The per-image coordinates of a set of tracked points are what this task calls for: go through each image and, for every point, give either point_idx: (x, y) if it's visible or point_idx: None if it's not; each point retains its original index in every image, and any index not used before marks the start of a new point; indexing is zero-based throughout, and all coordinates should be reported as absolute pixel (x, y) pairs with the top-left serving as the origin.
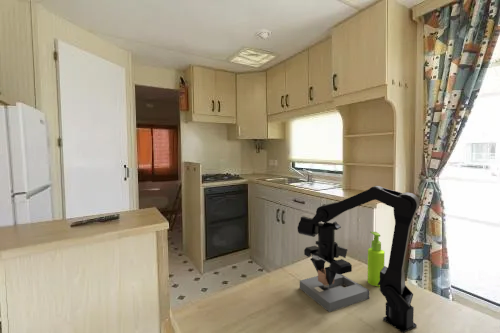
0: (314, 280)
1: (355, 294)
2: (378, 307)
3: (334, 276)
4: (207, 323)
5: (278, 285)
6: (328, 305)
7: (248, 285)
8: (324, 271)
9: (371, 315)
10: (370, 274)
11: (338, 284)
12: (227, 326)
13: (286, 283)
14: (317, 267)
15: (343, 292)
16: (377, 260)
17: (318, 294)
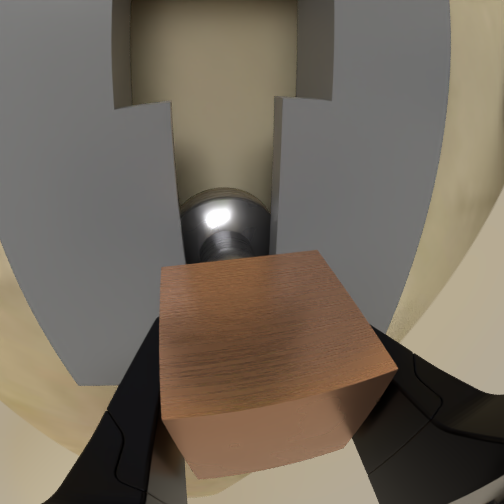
0: (78, 303)
1: (445, 114)
2: (467, 35)
3: (411, 360)
4: (219, 485)
5: (58, 397)
6: None
7: (67, 446)
8: (280, 454)
9: (478, 134)
10: None
11: (126, 12)
12: (243, 475)
13: (35, 368)
14: (184, 501)
15: (382, 180)
16: None
17: None
